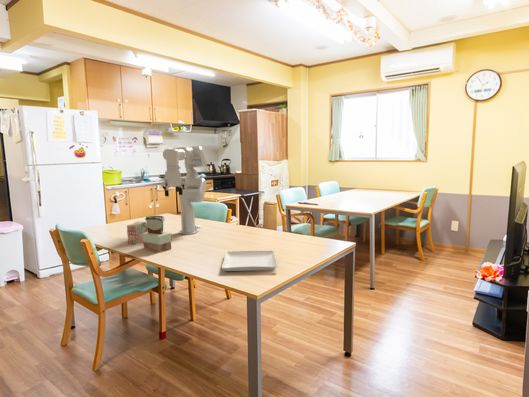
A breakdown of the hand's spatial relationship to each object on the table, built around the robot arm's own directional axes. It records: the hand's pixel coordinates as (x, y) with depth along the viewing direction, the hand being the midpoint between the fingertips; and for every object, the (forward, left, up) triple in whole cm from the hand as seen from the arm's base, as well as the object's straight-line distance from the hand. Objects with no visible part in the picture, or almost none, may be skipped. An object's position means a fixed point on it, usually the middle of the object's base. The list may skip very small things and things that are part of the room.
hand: (173, 195), depth 215 cm
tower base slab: (+16, +6, -31) cm, 35 cm away
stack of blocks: (+13, -21, -31) cm, 39 cm away
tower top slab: (+16, +6, -26) cm, 31 cm away
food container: (+15, +5, -21) cm, 26 cm away
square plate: (-3, +67, -31) cm, 74 cm away
